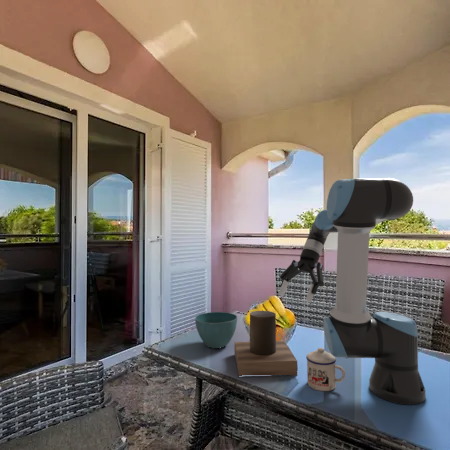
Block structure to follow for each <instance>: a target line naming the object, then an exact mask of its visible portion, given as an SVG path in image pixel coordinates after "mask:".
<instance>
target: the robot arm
mask: <svg viewBox="0 0 450 450" xmlns="http://www.w3.org/2000/svg"><path fill="white" fill-rule="evenodd" d="M413 205H414V195H413V193H412V190H411V189H410V188H409V187H408V185H407V184H406V183H404V182H402V181H401V180H399V179H395V178H392V177H391V178H390V177H388V178H387V177H383V178H381V177H380V178H346V179H344V178H343V179H337V180H335V181H334V182H333V183H332V185H331V187H330V189H329V191H328V195H327V200H326V209H323V210H321V211H319V212H318V214H317V215H316V217H315V218H314V221H313V223H312V225H311V228H310V231H309V233H308V235H307V238H306V241H305V243H304V245H303V248H302V250H301V253H300V256H299V260H298V261H296V259H293V260H292V261H291V263H290V264H289V265H288V267H287V268H286V269H285V270H284V271H283V272H282V273H281V274H280V275H279V278H280V279H281V284H280V285H279V287H280V289H279V292H278V296H280V297H282V298H284V296H285V293H286V292H287V288H288V287H289V284H290V283H289V282H290V281H291V280H292V279H293V278H295V277H296V276H297V275H298V274H301V273H302V274H304V273H305V274H309V276H310V278H311V281H312V283H311V284H310V286H309V289H308V291H307V294H306V297H305V301H307V302H308V303H309V304H311V303H312V301H313V297H314V295H316V294H317V291H318V288H319V287H325V284H324V276H323V275H324V274H323V267H324V265H323V264H322V263H321V262H320V261H319V260H320V258H321V257H320V256H321V255H322V251H323V249H324V246H325V243H326V240H327V238H328V236H329V234H330V233H337V248H336V249H337V251H336V278H335V279H336V280H335V281H336V285H335V286H336V288H335V306H334V307H333V308H332V309H331V310H330V311H329V317H325V318H324V319H323V330H324V337H325V341H326V344H327V348H328V350H329V353H330V354H332V355H333V356H335V358H343V359H344V358H345V359H349V358H350V359H374V365H373V367H372V371H371V372H370V377H369V379H368V380H369V381H368V382H369V383H368V385H369V387H368V388H369V389H370V391H371V393H372V394H373V395H374V396H376V397H378V398H380V399H383V400H385V401H388V402H391V403H393V404H400V405H407V406H408V405H411V406H412V405H420V404H422V403H423V402H425V401H426V393H427V392H426V388H425V385H424V382H423V380H422V377H421V375H420V371H419V347H418V346H419V345H418V344H419V342H418V340H419V333H418V327H417V323H416V322H415V320H414V319H412V318H410V317H408V316H405V315H402V314H398V313H393V312H387V311H376V312H374V314H373V315H371V313H369V312H368V310H367V293H368V289H367V288H368V274H369V273H368V271H369V251H370V250H369V248H370V233H371V231H373V229H375V228H376V227H377V226H376V225H377V224H380V223H382V222H384V221H386V220H387V221H394V220H397V219H400V218H402V217H404V216H406V215H407V214H408V213H409V212H410V211H411V209H412V207H413ZM314 269H315V270H316V274H315V271H314ZM372 316H373V317H372Z"/></svg>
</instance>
